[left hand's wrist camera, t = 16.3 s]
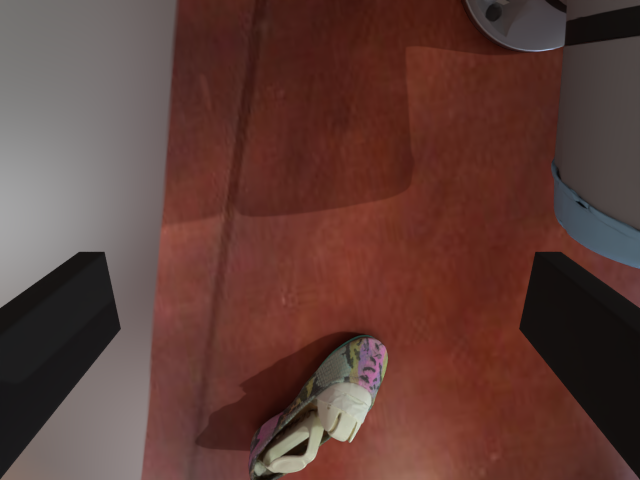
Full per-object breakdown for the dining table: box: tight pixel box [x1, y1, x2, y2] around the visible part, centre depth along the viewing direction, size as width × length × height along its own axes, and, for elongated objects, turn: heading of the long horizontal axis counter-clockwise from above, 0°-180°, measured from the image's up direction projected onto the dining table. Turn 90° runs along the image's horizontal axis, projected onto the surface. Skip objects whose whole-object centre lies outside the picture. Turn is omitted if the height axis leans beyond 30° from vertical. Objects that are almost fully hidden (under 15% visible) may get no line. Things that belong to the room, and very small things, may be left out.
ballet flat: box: [248, 335, 388, 480], centre depth 50 cm, size 8×24×9 cm, turn 138°
